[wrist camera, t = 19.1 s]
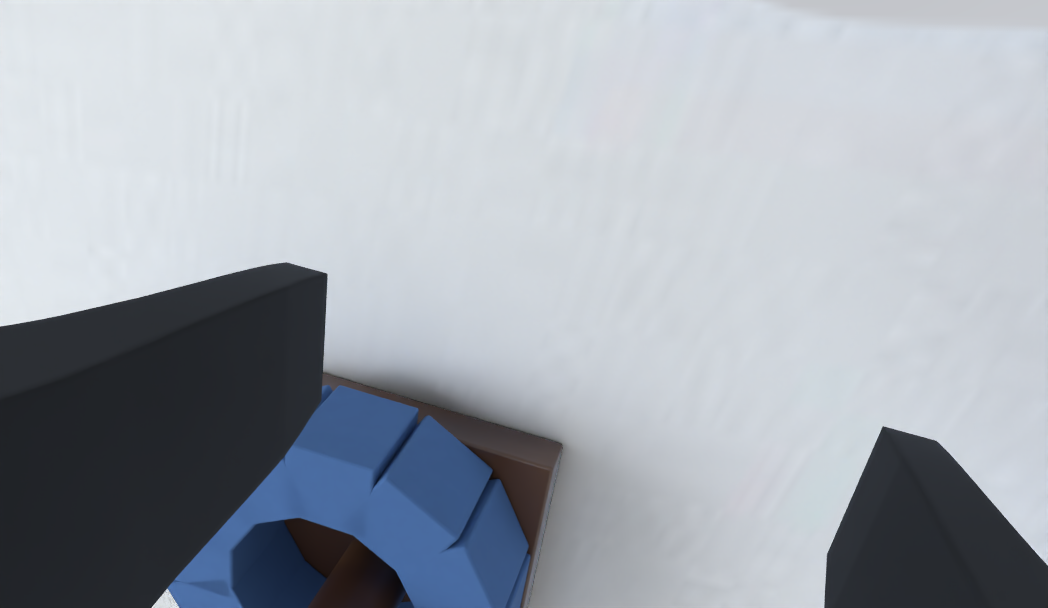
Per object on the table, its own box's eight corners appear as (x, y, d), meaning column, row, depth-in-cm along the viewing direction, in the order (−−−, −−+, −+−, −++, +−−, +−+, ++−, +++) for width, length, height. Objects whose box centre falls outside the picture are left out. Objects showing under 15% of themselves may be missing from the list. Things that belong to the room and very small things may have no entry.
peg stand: (564, 443, 23) (502, 595, 18) (519, 646, 26) (458, 819, 21) (294, 363, 24) (167, 483, 19) (288, 567, 28) (181, 712, 23)
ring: (554, 447, 21) (524, 518, 19) (501, 696, 26) (472, 779, 23) (216, 347, 23) (149, 400, 20) (222, 597, 27) (167, 665, 25)
